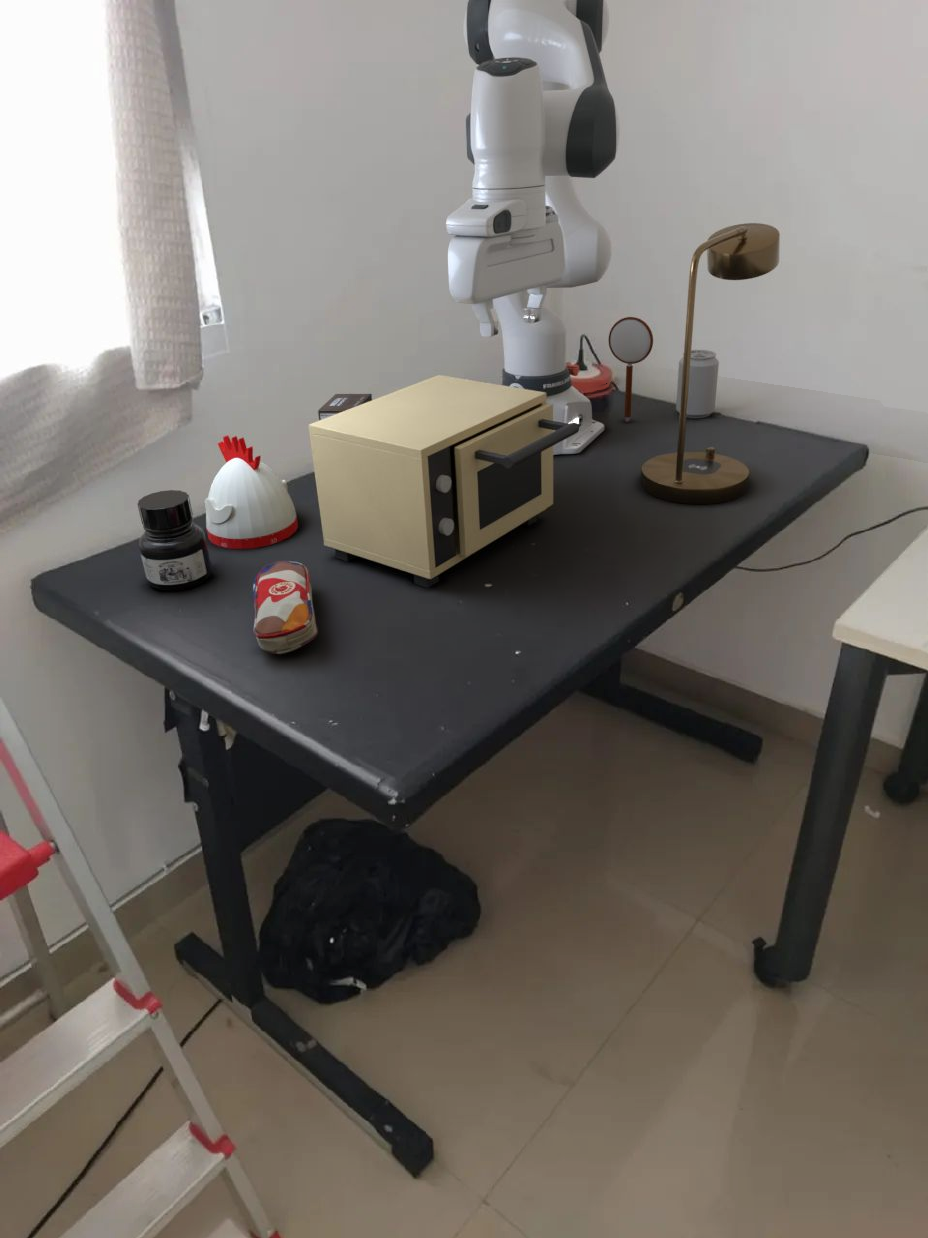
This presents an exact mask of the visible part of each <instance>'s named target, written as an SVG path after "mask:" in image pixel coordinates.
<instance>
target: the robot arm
mask: <svg viewBox="0 0 928 1238" xmlns="http://www.w3.org/2000/svg"><path fill="white" fill-rule="evenodd" d="M609 28H610V11H609V7H608V3H607V0H468V1H467V6H466V10H465V13H464V16H463V24H462V33H463V39H464V41H465V45H466V49H467V50H468V54H469V57H470V59H471V60H472V61H473V62H474V63H475V64H476V65H477V66H476V67H475V68H474V72H473V80H472V88H471V98H470V99H471V101H470V112H469V113H468V114H467V116H466V118H465V133H466V137H465V138H466V139H465V140H466V157H467V159H468V160H469V161H470V162H471V163H472V165H474V174H473V178H472V184H471V190H472V197H470V198H469V199H467V201H465V202H464V203H463V204H462V205H460V206H459V207H458V208H457V209H455V210H454V211H453V212H451V213H450V214H449V215H448V216H447V217H446V219H445V221H446V222H445V227H446V228H445V229H446V232H447V234H448V235H450V236H453V237H452V238H451V239H450V241H449V244H448V249H447V273H448V288H449V294H450V296H451V298H452V299H453V301H454V302H455V303H457V304H464V305H472V311H473V312H474V315H475V317H476V318H477V320H478V322H479V335H480V336H481V337H483V338H492V337H494V336H497V335H498V334H499V329H498V328H499V325H500V330H501V337H502V346H503V347H502V348H503V361H504V363H503V368H502V371H501V385H503V386H509V387H515V388H521V389H527V390H533V391H539V392H545V393H546V404H547V403H548V404H553V421H556V422H562V423H567V424H570V423H572V422H575V423H577V424H578V426H579V431H578V433H576V434H574V435H572V436H570V437H568V438H566V439H565V440H563V441H561V442H559V443H557V444H555V445H553V456H556V455H575V454H579V453H581V452H582V451H583V450H584V449H586V448H587V446H589V445H590V444H591V443H592V442H593V441H594V440H595V439H596V438H597V437H599V436H600V435H601V434H602V433H603V432H604V431H605V424H604V423H602V422H600V421H597V420H595V419H593V409H592V402H591V400H590V399H589V398H588V397H587V396H585V394H582V393H580V392H579V391H580V390H578V389H576V387H575V386H573V381H572V377H571V376H573V377H577V376H579V373H580V366H579V364H571V363H568V364H567V326H566V324H565V321H564V320H563V318H562V317H561V316H560V315H559V314H557V313H556V312H554V311H553V310H551V309H549V308H547V307H545V306H543V305H544V301H545V299H546V296H547V294H548V293H547V290H548V289H558V288H560V289H562V288H563V289H565V288H566V289H567V288H577V287H580V286H586V285H590V284H594V283H598V282H599V281H600V280H601V279H602V278H603V277H604V275H605V274H606V272H607V270H608V269H609V266H610V263H611V260H612V255H613V254H612V252H613V251H612V250H613V247H612V241H611V237H610V235H609V233H608V231H607V229H606V228H605V226H604V225H603V224H602V223H601V222H600V221H599V220H597V219H596V218H595V217H594V216H593V215H592V214H590V212H589V211H588V210H587V209H586V207H585V206H584V205H583V203H582V202H581V200H580V198H579V196H578V194H577V191H576V189H575V185H574V181H573V178H581V179H582V178H583V179H595V178H597V177H599V176H600V175H601V174H602V173H603V172H604V171H605V170H606V169H607V168H608V167H609V166H611V164H612V163H613V162H614V160H615V159H616V155H617V153H618V149H619V144H620V136H621V135H620V133H621V128H620V127H621V126H620V118H619V112H618V110H617V106H616V104H615V100H614V97H613V95H612V94H611V92H610V90H609V86H608V83H607V80H606V75H605V72H604V68H603V63H602V60H601V55H600V53H601V52H602V51H603V46H604V44H605V42H606V39H607V37H608V33H609ZM492 309H493V310H494V311H495V313H496V316H497V318H498V320H494V317H493V314H492ZM554 431H556V430H553V432H554Z"/></svg>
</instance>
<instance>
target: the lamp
mask: <svg viewBox="0 0 928 1238" xmlns="http://www.w3.org/2000/svg"><path fill="white" fill-rule="evenodd" d="M780 234H781V233H780V231H779V230H778V229H777V228H776V227H774V226H773V225H770V224H767V223H765V224H764V223H761V222H759V223H758V222H757V223H756V222H747V223H739V224H734V225H729V226H726V227H724V228H722V229H719V230H717V231H715V232H714V233H712V234H711V235H710V236H709V237H708V239H707V240H706V241H704V242H703V243H701V244H700V245H699V246H698V247H696V249H695V251H694V253H693V254H692V259H691V262H690V268H689V276H688V277H689V278H688V287H687V288H688V289H687V303H686V304H687V305H686V317H685V331H684V332H685V333H684V345H683V346H684V347H683V353H684V360H683V374H682V389H681V404H680V413H679V419H678V434H677V451H676V452H670V453H664V454H659V455H657V456H654V457H652V458H650V459H648V460H646V461H645V462H644V463H643V464H642V466H641V471H640V472H641V473H640V486H641V488H642V489H643V490H644V491H645V492H647V493H648V494H649V495H651V496H652V497H655V498H658V499H660V500H663V501H667V502H671V503H672V502H673V503H678V504H685V505H686V504H687V505H711V504H720V503H725V502H728V501H732V500H735V499H737V498H739V497H742V496H743V495H745V493H747V490H748V489H749V488H748V487H749V479H750V470H749V468H748V466H747V465H746V464H745V463H743V462H741V461H740V460H737V459H736V458H733V457H730V456H727V455H723V454H718V453H715V450H716V449H715V448H716V447H713V446H708V447H706V451H685V443H686V429H687V417H686V416H687V403H688V389H689V375H690V361H691V350H692V343H693V333H694V332H693V331H694V320H695V319H694V317H695V306H696V305H695V304H696V293H697V292H696V289H697V279H698V268H699V263H700V260H701V258H702V255H703V254H704V252H705V251H706V255H707V256H706V257H707V258H706V260H707V262H706V263H707V271H708V274H710V275H711V276H712V277H715V278H717V279H721V280H726V281H744V280H750V279H755V278H759V277H762V276H764V275H767V274H768V273H771V272H772V271H773V270H775V269H776V268H777V267H778V266H779V264H780V246H781V245H780V240H781V238H780V236H781V235H780Z"/></svg>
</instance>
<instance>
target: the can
mask: <svg viewBox="0 0 928 1238" xmlns="http://www.w3.org/2000/svg"><path fill="white" fill-rule="evenodd" d="M716 356H717V353H716V352H715V351H713V350H708V349H691V361H690V375H689V389H688V403H687V416H686V418H689V419H703V418H707V417H709V416H710V415H711V414H713V413H714V412H715V410H716V400H717V389H718V376H719V367H720V366H719V365H720V361H719V360H718V358H717V357H716ZM683 360H684V352H682V357H681V358H680V359H679V361H678V371H677V372H678V373H677V385H676V386H677V388H676V399H675V400H676V401H675V402H676V403H675V410H676V412H678V414H680V404H681V389H682V374H683Z"/></svg>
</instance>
